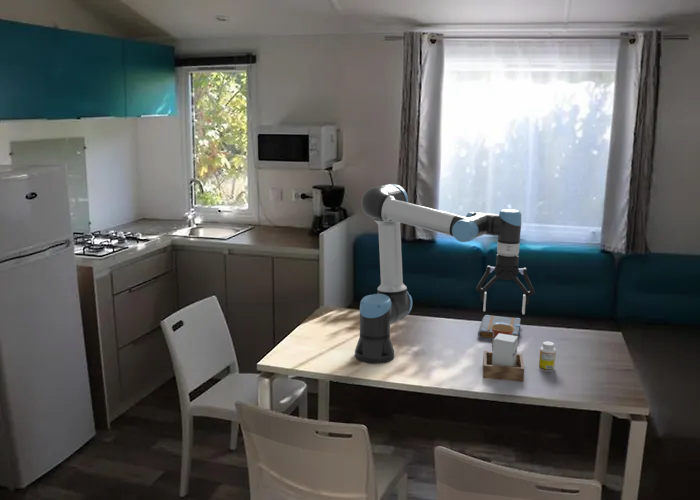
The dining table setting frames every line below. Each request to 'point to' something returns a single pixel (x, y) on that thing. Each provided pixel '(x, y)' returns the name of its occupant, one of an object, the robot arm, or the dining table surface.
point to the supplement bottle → (547, 357)
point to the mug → (501, 330)
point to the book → (489, 320)
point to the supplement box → (505, 350)
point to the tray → (503, 369)
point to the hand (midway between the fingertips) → (503, 311)
